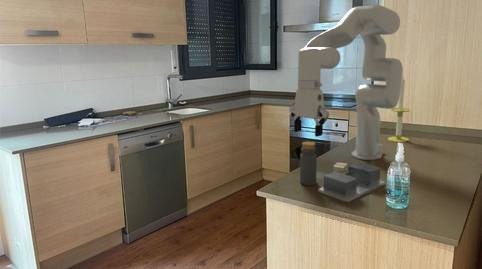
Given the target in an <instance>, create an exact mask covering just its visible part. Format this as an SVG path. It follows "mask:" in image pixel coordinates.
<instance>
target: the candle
mask: <svg viewBox="0 0 482 269" xmlns="http://www.w3.org/2000/svg"><path fill="white" fill-rule="evenodd" d="M405 82H406V80H405V78H404V75H402V82H401V89H400V96H399V101H398V104H397V106H398V107H397V108H396V107H395V108H392V109H391V111H392V112H395V113H397V115H396V116H397V118H396V129H395V130H396V131H395V136H390V137H387V140H388V141H390V142H395V143H407V142H406V141H408V142H409V141H410V139H409V138H408V137H404V136H402V133H403V132H402V130H403V116H404V113H408V112H410V111H411V110H410V108H409V109H408V108H404V100H405V99H404V97H405V85H406V83H405Z"/></svg>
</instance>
